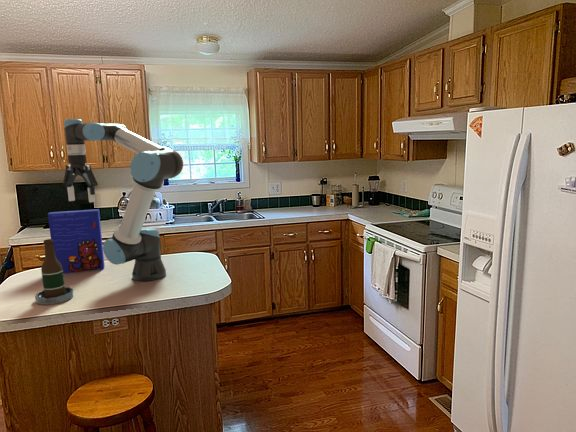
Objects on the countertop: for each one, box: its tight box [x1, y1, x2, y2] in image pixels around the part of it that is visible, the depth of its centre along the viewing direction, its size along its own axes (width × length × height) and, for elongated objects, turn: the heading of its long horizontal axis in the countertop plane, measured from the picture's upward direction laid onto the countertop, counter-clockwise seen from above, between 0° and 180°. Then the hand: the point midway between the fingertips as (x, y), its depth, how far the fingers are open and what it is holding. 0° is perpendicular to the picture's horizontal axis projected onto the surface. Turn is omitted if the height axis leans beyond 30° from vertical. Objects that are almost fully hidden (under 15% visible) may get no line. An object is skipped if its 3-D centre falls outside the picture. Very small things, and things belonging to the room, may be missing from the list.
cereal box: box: [47, 208, 105, 275], centre depth 210 cm, size 22×6×30 cm, turn 109°
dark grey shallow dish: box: [34, 286, 74, 306], centre depth 173 cm, size 13×13×3 cm
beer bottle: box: [40, 238, 66, 298], centre depth 171 cm, size 8×8×24 cm
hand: (81, 201), depth 194 cm, fingers open, 13 cm apart
